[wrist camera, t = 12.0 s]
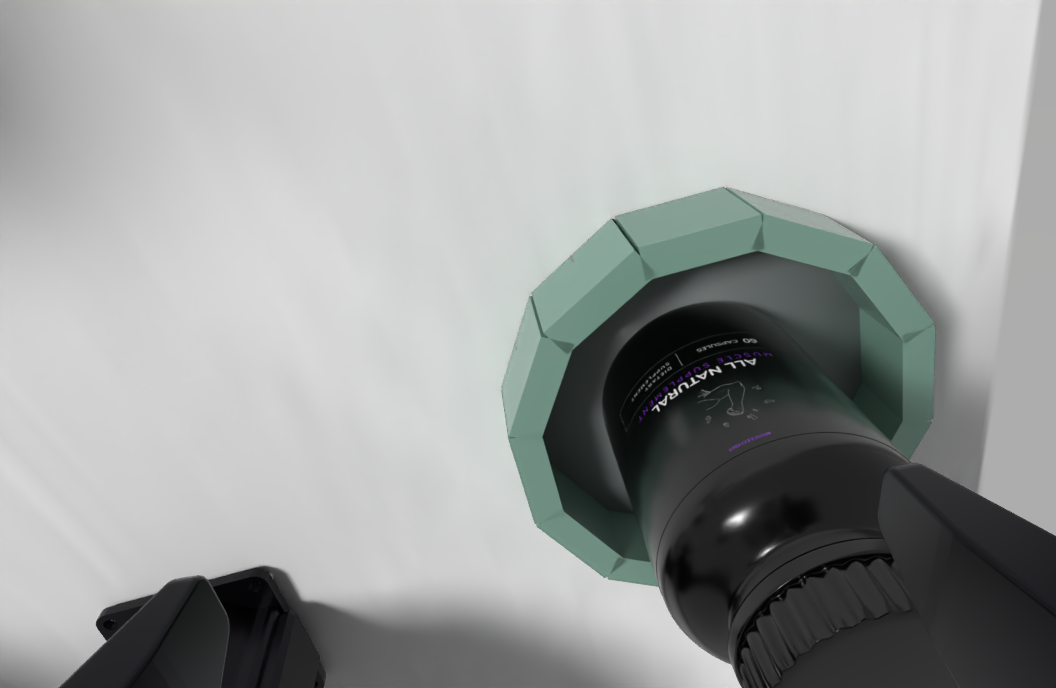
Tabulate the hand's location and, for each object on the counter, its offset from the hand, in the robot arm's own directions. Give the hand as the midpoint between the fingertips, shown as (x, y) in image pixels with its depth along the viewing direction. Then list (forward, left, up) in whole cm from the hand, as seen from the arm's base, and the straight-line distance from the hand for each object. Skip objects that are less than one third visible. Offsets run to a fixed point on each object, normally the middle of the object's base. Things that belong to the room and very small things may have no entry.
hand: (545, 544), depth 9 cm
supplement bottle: (+5, -7, -13) cm, 16 cm away
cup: (+6, -7, -14) cm, 16 cm away
